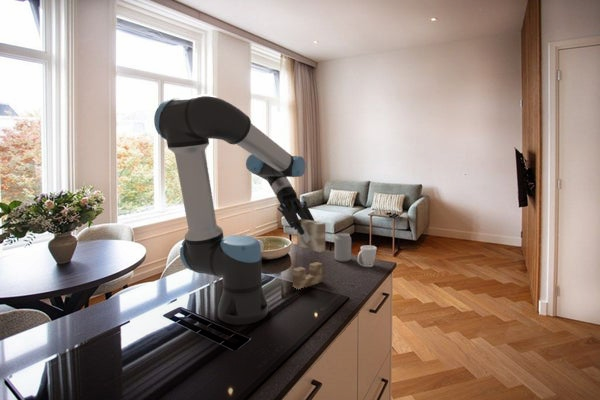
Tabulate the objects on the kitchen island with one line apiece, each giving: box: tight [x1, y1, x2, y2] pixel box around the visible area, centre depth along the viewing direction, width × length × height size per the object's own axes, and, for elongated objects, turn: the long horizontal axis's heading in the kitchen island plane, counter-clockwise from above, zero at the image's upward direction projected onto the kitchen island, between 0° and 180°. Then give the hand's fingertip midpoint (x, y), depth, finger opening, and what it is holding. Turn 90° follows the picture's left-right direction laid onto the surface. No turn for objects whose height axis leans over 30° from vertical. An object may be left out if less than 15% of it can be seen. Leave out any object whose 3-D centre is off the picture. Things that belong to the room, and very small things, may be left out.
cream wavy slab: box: [296, 218, 326, 253], centre depth 124 cm, size 12×3×10 cm, turn 41°
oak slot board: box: [292, 261, 323, 291], centre depth 125 cm, size 12×3×7 cm, turn 131°
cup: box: [356, 244, 378, 268], centre depth 145 cm, size 7×10×8 cm
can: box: [334, 232, 352, 263], centre depth 153 cm, size 8×8×12 cm
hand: (312, 239), depth 123 cm, fingers closed on cream wavy slab, 3 cm apart
